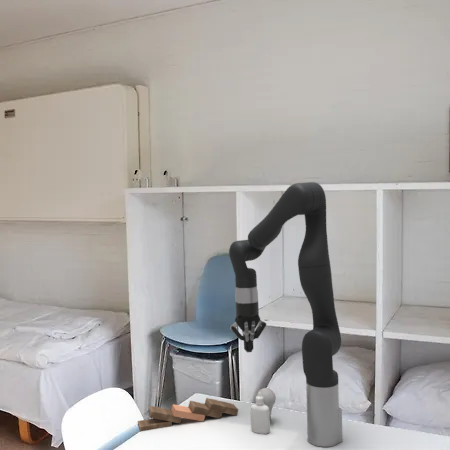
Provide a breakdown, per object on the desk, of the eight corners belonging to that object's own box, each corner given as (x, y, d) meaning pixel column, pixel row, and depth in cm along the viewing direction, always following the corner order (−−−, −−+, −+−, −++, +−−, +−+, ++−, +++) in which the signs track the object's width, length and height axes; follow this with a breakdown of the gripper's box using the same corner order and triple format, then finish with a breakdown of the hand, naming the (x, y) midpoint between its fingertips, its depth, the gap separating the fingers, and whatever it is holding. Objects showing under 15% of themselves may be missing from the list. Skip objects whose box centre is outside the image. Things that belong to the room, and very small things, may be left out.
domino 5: (233, 403, 180) (206, 397, 177) (238, 409, 175) (210, 403, 172) (231, 409, 180) (204, 403, 176) (236, 415, 175) (209, 409, 172)
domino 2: (179, 411, 174) (150, 405, 172) (181, 417, 169) (151, 411, 167) (178, 417, 174) (148, 411, 172) (180, 423, 169) (149, 417, 167)
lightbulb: (263, 416, 173) (262, 383, 172) (279, 421, 170) (278, 387, 169) (253, 423, 168) (252, 389, 167) (269, 428, 165) (268, 393, 164)
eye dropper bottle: (260, 426, 166) (259, 388, 166) (272, 432, 162) (270, 393, 161) (249, 430, 164) (248, 391, 163) (260, 436, 159) (259, 397, 159)
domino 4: (217, 406, 178) (190, 400, 175) (222, 412, 173) (194, 406, 170) (215, 412, 178) (188, 406, 175) (220, 418, 173) (192, 412, 170)
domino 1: (168, 416, 173) (137, 421, 170) (171, 422, 168) (139, 427, 165) (168, 422, 173) (137, 427, 170) (171, 428, 169) (140, 433, 166)
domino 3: (201, 409, 176) (172, 404, 173) (205, 415, 171) (175, 410, 168) (199, 415, 176) (171, 410, 173) (203, 421, 171) (174, 416, 168)
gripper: (231, 304, 171) (233, 357, 172) (269, 300, 175) (271, 352, 176) (224, 300, 178) (226, 351, 179) (261, 296, 182) (263, 346, 183)
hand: (248, 351), depth 178 cm, fingers closed
